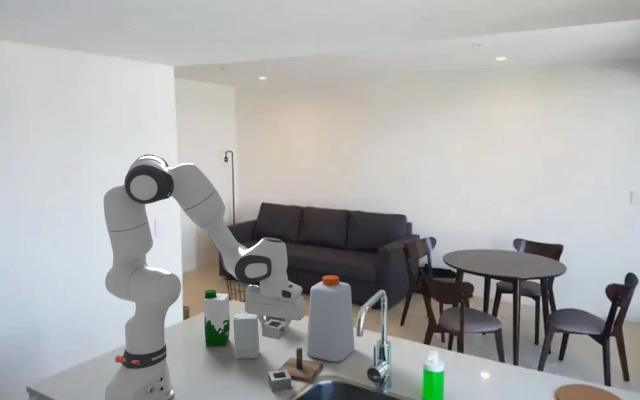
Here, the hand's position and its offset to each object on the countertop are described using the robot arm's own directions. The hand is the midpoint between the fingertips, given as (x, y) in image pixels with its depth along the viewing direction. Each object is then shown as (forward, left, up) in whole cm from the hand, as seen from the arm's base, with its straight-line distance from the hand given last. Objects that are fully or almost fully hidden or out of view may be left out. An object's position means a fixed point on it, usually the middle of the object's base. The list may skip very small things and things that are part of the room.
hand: (274, 329), depth 157 cm
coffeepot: (+37, +18, -16) cm, 44 cm away
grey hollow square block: (0, 0, -2) cm, 2 cm away
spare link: (-6, -4, -16) cm, 17 cm away
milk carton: (+16, +32, -16) cm, 39 cm away
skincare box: (+10, +16, -16) cm, 25 cm away
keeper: (+6, -6, -16) cm, 18 cm away
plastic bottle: (+23, -11, -16) cm, 30 cm away
